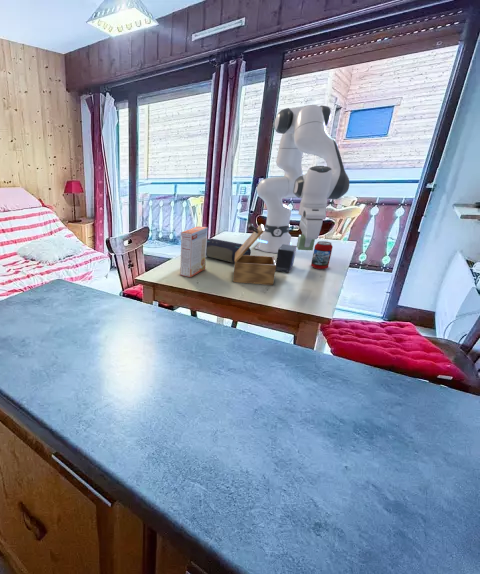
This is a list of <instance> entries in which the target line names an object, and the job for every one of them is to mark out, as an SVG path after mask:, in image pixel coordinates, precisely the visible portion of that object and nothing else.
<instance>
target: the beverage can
mask: <svg viewBox="0 0 480 574" xmlns="http://www.w3.org/2000/svg"><path fill="white" fill-rule="evenodd" d="M332 251H333V244H332V242H330V241H326V240H325V241H324V240H321V241H317V242H316V244H314V247H313V252H312V258H311V264H310V266H311V267H312V268H313V269H316V270H325V269H328V268H329V265H330V260H331V257H332V253H333V252H332Z"/></svg>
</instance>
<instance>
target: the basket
mask: <svg viewBox="0 0 480 574" xmlns="http://www.w3.org/2000/svg"><path fill="white" fill-rule="evenodd" d="M275 259H276V258H275V257H274V256H271V255H269V256H268V255H252V254H250V255H242V256H241V257H240V258H239V260H238V261H237V262H235V263H234V265H233V276H232V282H233V283H239V284H243V283H244V284H252V285H253V284H254V285H265V286H274V282H275V276H276V271H275V270H276V260H275Z"/></svg>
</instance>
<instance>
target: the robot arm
mask: <svg viewBox="0 0 480 574" xmlns="http://www.w3.org/2000/svg"><path fill="white" fill-rule="evenodd" d="M331 119H332V110H331V108H330V106H327V105H318V104H308V105H304V106H297V107H291V108H289V107H287V108H283V109H280V111H278V113H277V115H276V117H275V119H274V131H275V132H276V133H278V134H281V137H280V141H279V145H278V149H277V154H276V161H275V163H276V167H278V168H279V169H281V170H282V171H283V172H284V174H283V176H271V177H267V178H263V179H261V180H260V181H259V182H258V184H257V186H256V193H257V196H258V197H259V198H260V199H261V200H262V201H263V202H264V203H265V206H266V221H265V224H264V226H263V228H264V232H263V233H262V234H261V235H260V236H259V238H258V239H257V240H256V241H257V244H256V245H255V246H254V249H255V250H260V251H261V252H265V253H273V254H277V253H278V249H279V248H280V247H281V245H282V244H286V245H292V244H293V243H292V242H291V241H292V235H291V234H290V233H289V232H290V230H291V229H290V228H291V224H290V222H291V221H290V220H291V215H292V209H290V207H289V206H287V205H286V204H284V202H283V199H295V198H299V199H301V200H300V202H299V207H298V215H299V216H300V220H299V230H300V231H301V235H304V236H305V237H306V238H305V242H304V247H309V246H310V243H311V241H312V239H315V240H317V239H318V238H319V236H320V232H321V230H322V226H323V221H324V220H325V219H326V217H327V212H326V211H327V207H328V200H338V199H340V198H342V197H343V196H345V195H346V194H347V193H348V191H349V188H350V178H349V176H348V174H347V172H346V169H345V167H344V163H343V160H342V159H343V158H342V155H341V151H340V149H339V146H338V143H337V141H336V139H335V138H333V137H331V136H330V135H329V134H328V132H327V130H326V129H327V127H329V126H328V125H329V124H330V121H331ZM304 154H308V155H313V156H316V157H319V158H321V159H322V160H324V161H325V164H326V165H314V166H311V167H309V168H308V169H307V172H306V173H304V171H303V168H302V167H303V166H302V161H303V156H304Z"/></svg>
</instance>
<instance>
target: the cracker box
mask: <svg viewBox="0 0 480 574" xmlns="http://www.w3.org/2000/svg"><path fill="white" fill-rule="evenodd" d="M180 234H181V237H180V266H179V267H180V271H179V272H180V276H183V277H188V278H192V277H194V276H196V275H198V274H199V273H202V272H203V271H205V270H206V261H207V260H206V259H207V256H206V245H207V239H208V226H199V225H198V226H195V227H192V228H189V229H186V230H184V231H182V232H181V233H180Z"/></svg>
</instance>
